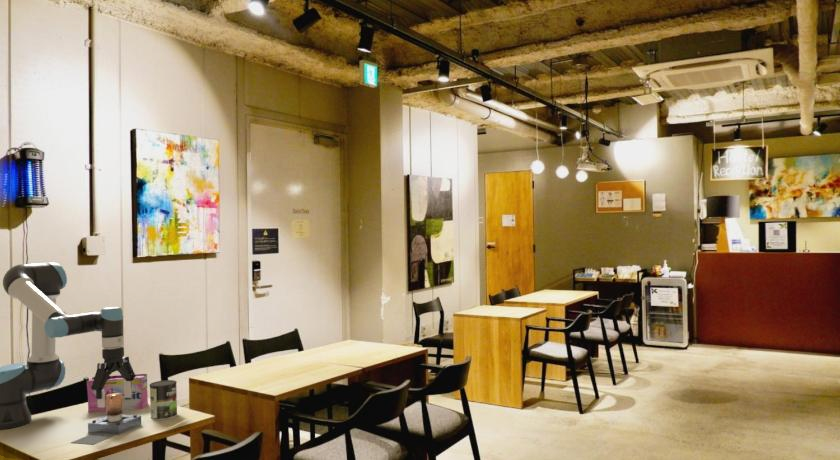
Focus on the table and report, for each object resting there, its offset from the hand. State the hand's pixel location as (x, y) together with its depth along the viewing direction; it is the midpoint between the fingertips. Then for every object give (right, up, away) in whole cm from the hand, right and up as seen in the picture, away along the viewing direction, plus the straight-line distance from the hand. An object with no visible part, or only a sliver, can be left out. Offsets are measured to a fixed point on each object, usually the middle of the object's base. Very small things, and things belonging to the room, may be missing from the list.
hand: (114, 402), depth 236 cm
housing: (0, -11, 0) cm, 11 cm away
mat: (-2, -11, -12) cm, 16 cm away
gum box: (-14, -12, +31) cm, 36 cm away
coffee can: (+13, -11, +15) cm, 23 cm away
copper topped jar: (0, -10, 0) cm, 10 cm away
